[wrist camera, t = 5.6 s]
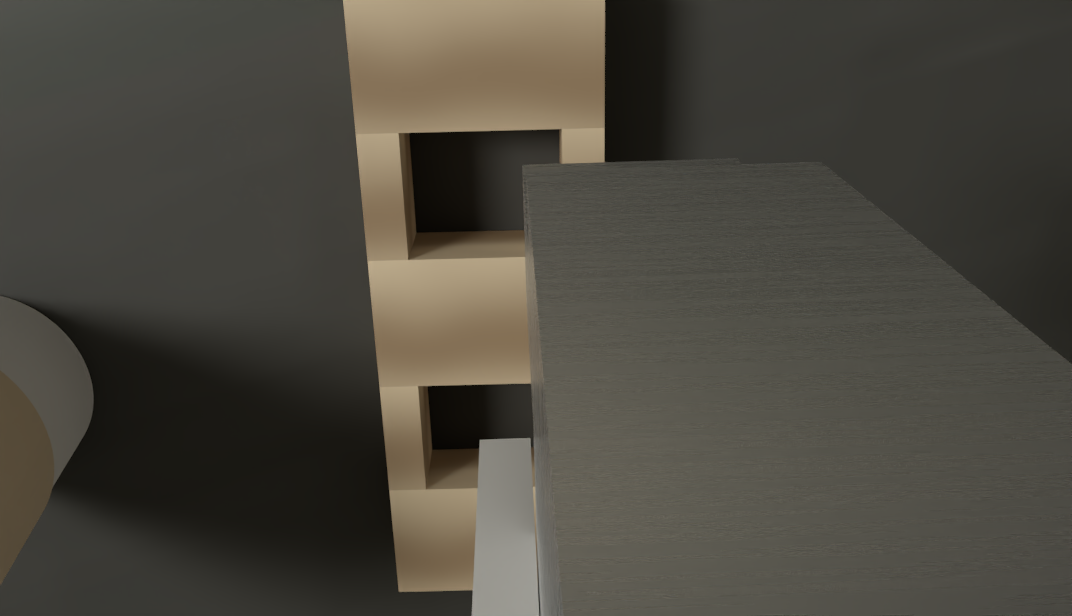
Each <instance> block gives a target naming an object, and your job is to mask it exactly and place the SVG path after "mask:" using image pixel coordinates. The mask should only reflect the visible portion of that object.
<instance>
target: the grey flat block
mask: <svg viewBox="0 0 1072 616" xmlns="http://www.w3.org/2000/svg"><path fill="white" fill-rule="evenodd" d="M522 167H523V200H524V234H525V268H526V302H527V320H528V338H529V356H530V373H531V391H532V409H533V428H534V463H535V499H536V534H537V570H538V601H539V616H1072V364H1071V363H1069V362H1068V361H1067V360H1066V359H1064V358H1063V357H1062V356H1061V355H1059V354H1058V353H1057V352H1056V351H1054V350H1053V349H1052V348H1051V347H1050V346H1048V345H1047V344H1046V343H1045V342H1043V341H1042V340H1041V339H1040V338H1038V337H1037V336H1036V335H1035V334H1033V333H1032V332H1031V331H1030V330H1028V329H1027V328H1026V327H1025V326H1023V325H1022V324H1021V323H1020V322H1019V321H1017V320H1016V319H1015V318H1014V317H1012V316H1011V315H1010V314H1009V313H1007V312H1006V311H1005V310H1004V309H1002V308H1001V307H1000V306H999V305H997V304H996V303H995V302H994V301H992V300H991V299H990V298H989V297H987V296H986V295H985V294H984V293H983V292H981V291H980V290H979V289H978V288H976V287H975V286H974V285H973V284H971V283H970V282H969V281H968V280H966V279H965V278H964V277H963V276H961V275H960V274H959V273H958V272H956V271H955V270H954V269H953V268H951V267H950V266H949V265H948V264H947V263H945V262H944V261H943V260H942V259H940V258H939V257H938V256H937V255H935V254H934V253H933V252H932V251H930V250H929V249H928V248H927V247H925V246H924V245H923V244H922V243H920V242H919V241H918V240H917V239H915V238H914V237H913V236H912V235H911V234H909V233H908V232H907V231H906V230H904V229H903V228H902V227H901V226H899V225H898V224H897V223H896V222H894V221H893V220H892V219H891V218H889V217H888V216H887V215H886V214H884V213H883V212H882V211H881V210H879V209H878V208H877V207H876V206H875V205H873V204H872V203H871V202H870V201H868V200H867V199H866V198H865V197H863V196H862V195H861V194H860V193H858V192H857V191H856V190H855V189H853V188H852V187H851V186H850V185H848V184H847V183H846V182H845V181H844V180H842V179H841V178H840V177H839V176H837V175H836V174H835V173H834V172H832V171H831V170H830V169H829V168H827V167H826V166H825V165H824V164H822V163H821V162H808V163H775V164H742V163H741V162H740V161H739V160H738V158H730V159H697V160H665V161H632V162H599V163H567V164H534V165H522Z"/></svg>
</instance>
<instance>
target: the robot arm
mask: <svg viewBox="0 0 1072 616" xmlns="http://www.w3.org/2000/svg"><path fill="white" fill-rule="evenodd" d="M472 616H539V601H538V581H537V561H536V541H535V521H534V501H533V481H532V461H531V440H530V438H515V439H487V440H480V445H479V467H478V489H477V511H476V533H475V555H474V577H473V599H472Z"/></svg>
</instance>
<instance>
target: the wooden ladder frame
mask: <svg viewBox="0 0 1072 616" xmlns="http://www.w3.org/2000/svg"><path fill="white" fill-rule="evenodd" d="M343 4H344V15H345V25H346V36H347V46H348V57H349V68H350V78H351V89H352V100H353V110H354V121H355V131H356V142H357V153H358V163H359V174H360V185H361V195H362V206H363V216H364V227H365V238H366V248H367V259H368V270H369V280H370V291H371V301H372V312H373V323H374V333H375V344H376V355H377V365H378V376H379V386H380V397H381V408H382V418H383V429H384V440H385V450H386V461H387V471H388V482H389V493H390V503H391V514H392V525H393V535H394V546H395V557H396V567H397V578H398V588H399V592H419V591H457V590H473V577H474V555H475V533H476V511H477V489H478V467H479V449H443V450H432V439H431V425H430V411H429V397H428V386H446V385H485V384H524V383H531V373H530V356H529V338H528V320H527V302H526V268H525V234H524V230H506V231H467V232H427V233H416V219H415V206H414V192H413V178H412V165H411V151H410V137H409V133H425V132H464V131H504V130H543V129H559V144H560V164H567V163H599V162H604V152H605V0H343ZM531 461H532V481H533V501H534V521H535V541H536V561H537V534H536V499H535V463H534V447H531ZM537 581H538V570H537Z"/></svg>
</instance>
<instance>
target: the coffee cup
mask: <svg viewBox="0 0 1072 616" xmlns="http://www.w3.org/2000/svg"><path fill="white" fill-rule="evenodd" d="M93 403H94V395H93V386H92V381H91V378H90V374H89V371H88V368H87V366H86V364H85V361H84V359H83V358H82V356H81V354H80V352H79V351H78V349H77V348H76V346H75V345H74V343H73V342H72V341H71V339H70V338H69V337H68V336H67V335H66V334H65V333H64V332H63V331H62V330H61V329H60V328H59V327H58V326H57V325H56V324H55V323H54V322H52V321H51V320H50V319H49V318H47V317H46V316H44V315H43V314H41V313H40V312H38V311H37V310H35V309H33V308H31V307H29V306H27V305H25V304H23V303H21V302H18V301H16V300H13V299H10V298H7V297H3V296H0V585H1V583H2V581H3V580H4V578H5V576H6V575H7V573H8V571H9V569H10V568H11V566H12V564H13V562H14V561H15V559H16V557H17V556H18V554H19V552H20V550H21V549H22V547H23V545H24V543H25V542H26V540H27V538H28V537H29V535H30V533H31V531H32V530H33V528H34V526H35V524H36V523H37V521H38V519H39V517H40V516H41V514H42V512H43V511H44V509H45V507H46V505H47V503H48V500H49V497H50V494H51V491H52V488H53V486H54V484H55V483H56V481H57V479H58V478H59V476H60V474H61V473H62V471H63V469H64V468H65V466H66V465H67V463H68V461H69V460H70V458H71V456H72V455H73V453H74V451H75V450H76V448H77V446H78V445H79V443H80V441H81V440H82V438H83V437H84V435H85V433H86V431H87V429H88V427H89V424H90V421H91V417H92V412H93Z"/></svg>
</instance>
